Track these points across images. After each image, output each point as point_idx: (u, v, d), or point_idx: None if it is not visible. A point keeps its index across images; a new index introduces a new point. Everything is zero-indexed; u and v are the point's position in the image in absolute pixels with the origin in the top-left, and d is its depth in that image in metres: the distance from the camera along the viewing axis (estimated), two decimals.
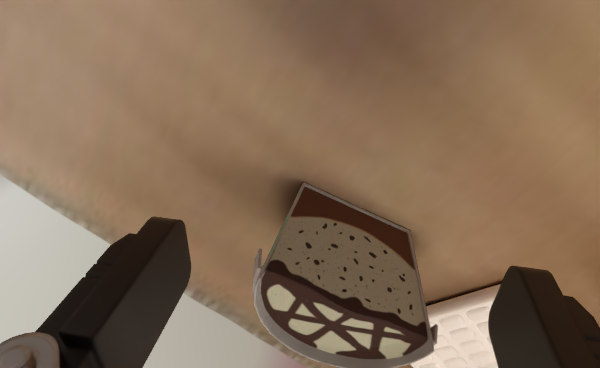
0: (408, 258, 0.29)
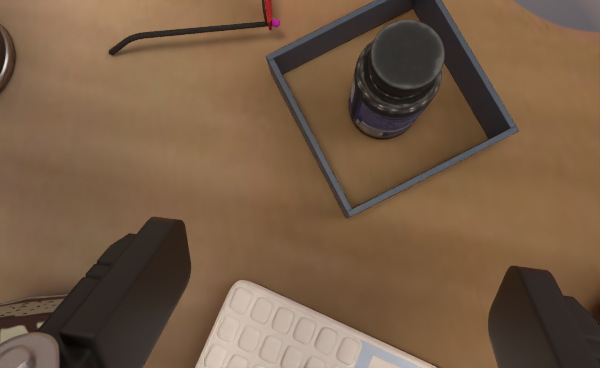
0: None
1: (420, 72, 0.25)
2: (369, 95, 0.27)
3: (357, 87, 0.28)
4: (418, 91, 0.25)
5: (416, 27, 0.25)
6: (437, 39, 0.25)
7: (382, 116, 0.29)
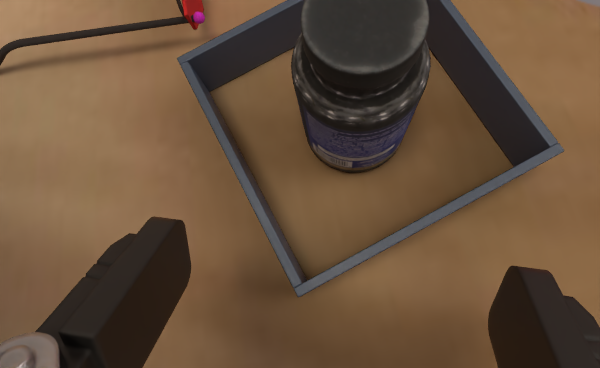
0: None
1: (388, 44, 0.14)
2: (311, 96, 0.17)
3: (295, 86, 0.17)
4: (387, 79, 0.14)
5: None
6: None
7: (339, 132, 0.18)
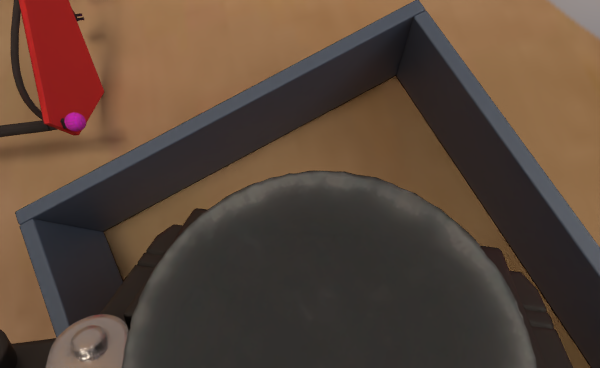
0: None
1: None
2: None
3: None
4: None
5: (366, 212, 0.05)
6: (487, 286, 0.04)
7: None
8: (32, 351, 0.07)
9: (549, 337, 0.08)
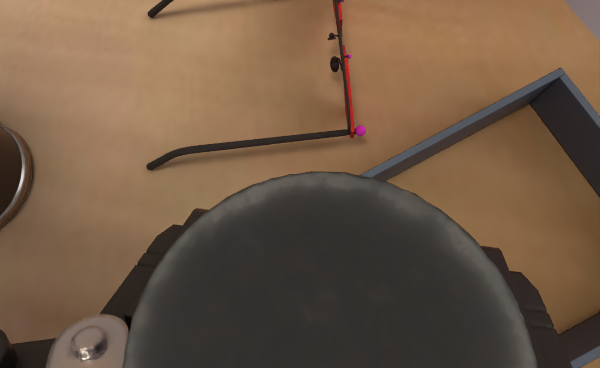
0: None
1: None
2: None
3: None
4: None
5: (367, 213, 0.05)
6: (487, 287, 0.04)
7: None
8: (32, 351, 0.07)
9: (549, 337, 0.08)
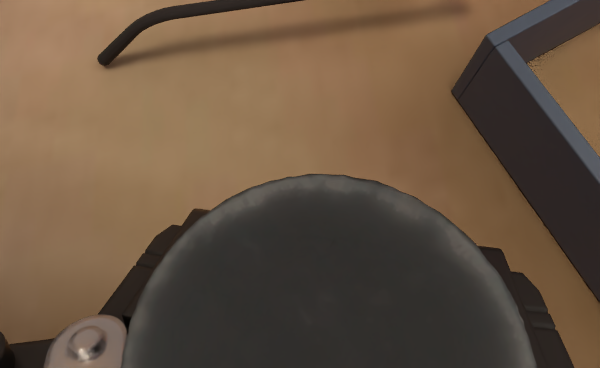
0: None
1: None
2: None
3: None
4: None
5: (365, 216, 0.05)
6: (487, 290, 0.04)
7: None
8: (30, 351, 0.07)
9: (551, 338, 0.08)
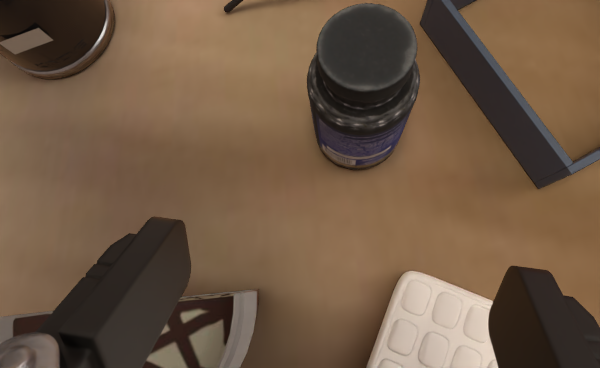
0: None
1: (384, 69, 0.18)
2: (324, 106, 0.21)
3: (310, 98, 0.22)
4: (384, 95, 0.18)
5: (377, 12, 0.19)
6: (406, 25, 0.18)
7: (345, 136, 0.22)
8: None
9: None
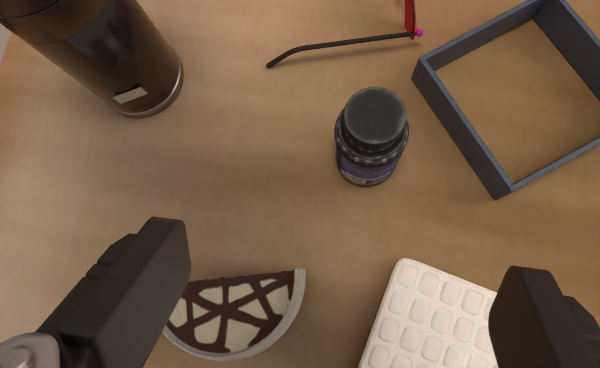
0: None
1: (386, 130, 0.29)
2: (346, 149, 0.32)
3: (337, 143, 0.33)
4: (386, 145, 0.30)
5: (381, 92, 0.30)
6: (399, 102, 0.29)
7: (360, 167, 0.33)
8: None
9: None
